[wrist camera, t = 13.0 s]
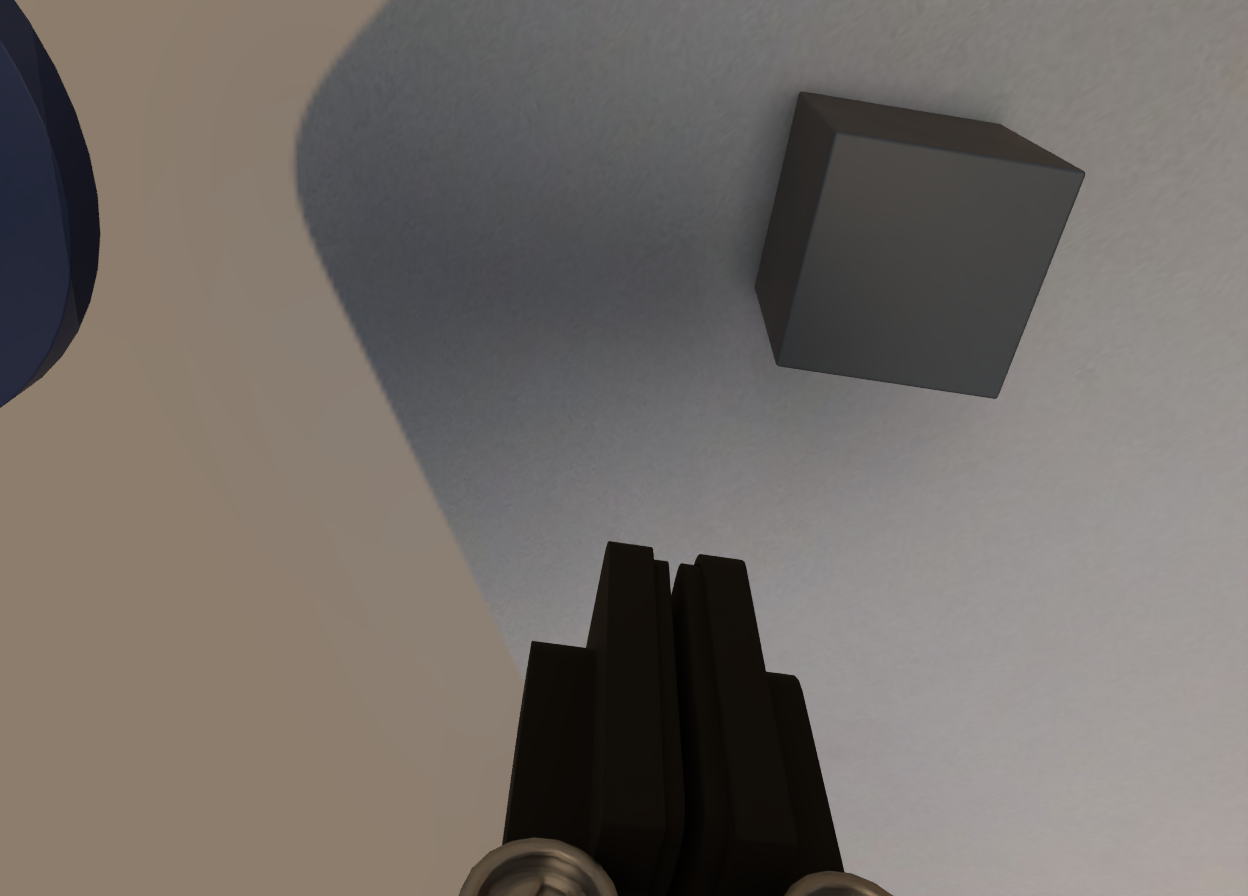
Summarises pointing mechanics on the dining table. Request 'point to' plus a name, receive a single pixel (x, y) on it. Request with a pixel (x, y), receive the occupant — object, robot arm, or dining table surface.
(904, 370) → the slate block
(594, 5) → the dining table surface
